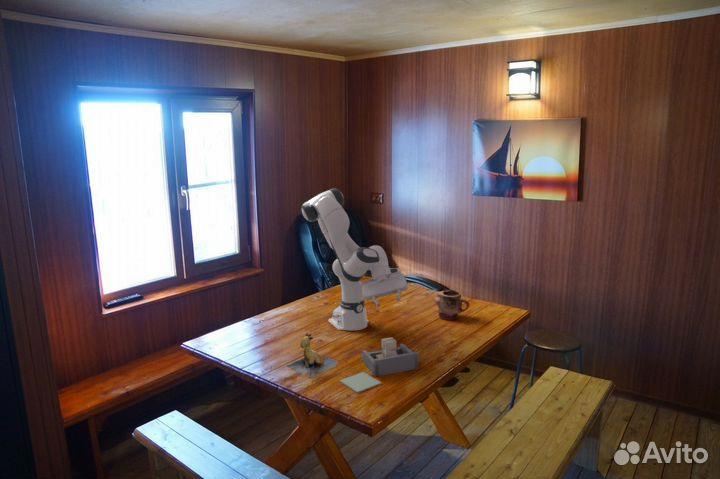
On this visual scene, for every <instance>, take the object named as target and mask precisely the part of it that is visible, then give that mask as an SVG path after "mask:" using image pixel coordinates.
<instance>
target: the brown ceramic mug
mask: <svg viewBox="0 0 720 479" xmlns="http://www.w3.org/2000/svg"><path fill="white" fill-rule="evenodd" d="M433 301H434V304H435V306H437V308H438V317H439V318H440V319H441V320H445V321H454V320H456V319H457V318H458V316H459V315H460V314H462V313H464V312H466V311H467V310H468V309H469V307H470V302H469V300H467V299H466V298H462V295H461V293H460V292H459V291H456V290H454V289H453V290H452V289H451V290H441V291H439V292H437V294H436V297H434V299H433ZM463 303H464V304H465V305H466V307H465V308H464V309H463V307H462V306H463Z"/></svg>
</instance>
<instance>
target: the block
mask: <svg viewBox="0 0 720 479" xmlns="http://www.w3.org/2000/svg"><path fill="white" fill-rule="evenodd" d="M396 348H397V340H396V339H394V337H387V338H381V350H382V357H383V358H384V357H389V356H395V355H396Z"/></svg>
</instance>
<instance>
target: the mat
mask: <svg viewBox="0 0 720 479" xmlns="http://www.w3.org/2000/svg"><path fill="white" fill-rule="evenodd" d="M339 382H340V383H341V384H343V385H344V386H345V387H347V388H349V389H350V390H352V391H353V392H355V393H357V394H359V393H361V392H364V391H366V390H367V391H368V390H369V389H372V388H374V387H378V386H379V385H382V382H381V381H379V380H378V379H376V377H375V378H374V377H373V376H371V375H370V374H367V373H366V372H365V371H362V372H359V373H357V374H353V375H351V376H348V377H345V378H342V379H340V380H339Z"/></svg>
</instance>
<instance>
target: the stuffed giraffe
mask: <svg viewBox="0 0 720 479" xmlns="http://www.w3.org/2000/svg"><path fill="white" fill-rule="evenodd" d="M313 339H314V337H313V336H312V333H309V332H306V333H305V335H304V337H303V338H302V339H301V341H300V348H302V349H303V350H304V351H303V356H304V357H302V358H301V359H299V360H296V361H294V362H292V363H290V364H288V365H286V367H288V368H291V367H292V368H291V369H292V370H293V371H295V372H297V373H299V374H301V375H303V376H304V375H306V374H307V373H308V374H310V376H309V379H310V378H314V376H315V374H316V372H318V373H325V372H327V371H329V370H330V369H333V368H335V367H337V366H336V365H338V364H339V361H337V360H336V359H332V358H330V357H328V356H326V355H322V354H321V353H320V352H317V351H316V350H313V349H311V340H313ZM323 357H324V360H323ZM321 360H323V365H321ZM304 367H305V368H304Z"/></svg>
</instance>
